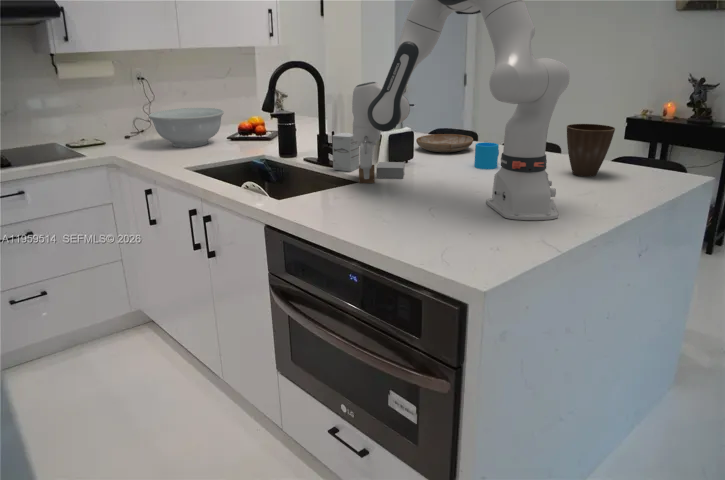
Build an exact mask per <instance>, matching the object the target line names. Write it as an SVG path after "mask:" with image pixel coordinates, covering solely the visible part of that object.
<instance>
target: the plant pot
mask: <svg viewBox="0 0 725 480" xmlns="http://www.w3.org/2000/svg"><path fill="white" fill-rule="evenodd" d="M615 131H616V127H613V126H611V125H606V124H598V123H596V124H595V123H572V124H568V125H566V144H567V151H568V159H569V163H570V167H571V171H572V174H573V175H574V176H578V177H579V176H580V177H587V178H588V177H595V176H596V175H597V174H598V172H599V170H600V168H601V166H602V165H603V162H604V160H605V158H606V156H607V155H608V151H609V149H610V146H611V143H612V141H613V138H614V134H615Z"/></svg>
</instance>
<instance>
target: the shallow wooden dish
mask: <svg viewBox="0 0 725 480" xmlns="http://www.w3.org/2000/svg"><path fill="white" fill-rule="evenodd" d="M415 141H416V144H417V146H419V147H420V148H422V149H424V150H426V151H429V152H434V153H455V152H461V151H464V150H466V149H468V148H469V147H470V146H472V145H473V142H474V138H473V137H472V136H469V135H464V134H454V133H444V134H443V133H440V134H439V133H437V134H428V135H427V134H426V135H422V136H418V137H417V138H416V140H415Z"/></svg>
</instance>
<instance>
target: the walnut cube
mask: <svg viewBox="0 0 725 480" xmlns="http://www.w3.org/2000/svg"><path fill="white" fill-rule="evenodd" d="M375 167H376V165H375V164H372V167H371V169H370V171H369V179H364V172H363V169H361V168H360V164H359V168H358V183H359V184H375V179H376V178H375V176H376V175H375V174H376V173H375V172H376V171H375Z"/></svg>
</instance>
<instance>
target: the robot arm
mask: <svg viewBox="0 0 725 480" xmlns="http://www.w3.org/2000/svg"><path fill="white" fill-rule="evenodd" d="M454 12H455V14H457V15H478V14H480V13H481V16H482V18H483V21H484V24H485V27H486V30H487V32H488V34H489V35H488V36H489V39H490V41H491V43H492V47H493V52H494V68H493V70H492V72H491V74H490V76H489V90H490V92H491V95H492V97H494V98H493V99H495V100H497V101H499V102H502V103H506V104H510V105H516V107H515V111H514V113H513V114H512V116H511V117H510V118H509V120H507V122H506V124H505V126H504V136H503V137H504V138H503V150H502V151H503V152H502V153H501V155H500V166H501V167H500V169H499V170H498V171H497V172H496V173H495V174H494V176H493V186H492V194H491V197H489V198H486V200H485V204H486V205H487V206H489V207H490V208H492V209H493V210H494V211H495V212H497V213H498V214H499V215H500V216H502V217H503V218H506V219H510V220H518V221H519V220H520V221H521V220H522V221H543V220H544V221H545V220H554V219H558V218H559V213H558V210H557V206H556V203H555V200H554V199H553V198H555V197H556V195H557V190H556V189H557V188H554V187H552V186H553V185H552V184H553V181H552V180H549V173H548V172H547V171H546V170H547V163H548V162H547V154H546V147H547V139H548V130H549V127H550V122H551V118H552V116H553V113H554V111H555V107H556V106H557V103H558V100H559V99H560V97H561V95H563V93H564V92H565V91H566V90H567V88H568V85H569V84H570V79H571V77H570V71H569V68H568V67H567V65H566V64H565V63H563V62H562V61H560V60H558V59H554V58H550V57H538V58H535V56H534V55H533V50H532V40H533V38H534V37H535V32H536V29H535V28H536V27H535V25H534V23H533V20H532V18H531V15H530V12H529V10H528V7H527V4H526V2H525V0H413V2H412V3H411V5H410V7H409V11H408V13H407V15H406V18H405V22H404V24H403V27H402V31H401V34H400V38H399V42H398V45H397V48H396V52H395V55H394V58H393V60H392V63H391V65H390V68H389V70H388V73H387V75H386V78H385V80H384V83H383V86H381V85H380V84H379V83H378V82H376V81H369V82H365V83H361V84H357V85H356V86H355V87H354V88H353V91H352V100H351V101H352V103H351V104H352V105H351V106H352V107H351V110H352V115H353V120H352V134H353V140H354V141H357V145H358V146H359V165H360V168H361V169H363V172H364V179H369V171H370V169H371V167H372V165H373V157H374V156H373V155H374V150H375V149H374V148H375V146H377V142H378V141H380V140H381V132H389V131H391V130H394V129H395V128H396V127H397V126H398V125H400V124H401V123H403V122H404V121H405V120H406V119H407V118H408V117H409V114H410V111H411V105H410V101H409V100H408V99H407V98H406V97H405V96H404V93H405V90H406V88H407V86H408V84H409V81H410V78H411V76H412V74H413V72H414V71H415V69H416V68H417V67H418V66H419V64H420V63H421V62H422V61H424V59H426V58H427V57H428V56H429V55H431V53H432V52H433V50H434V48H435V46H436V45H437V43H438V41H439V39H440V36H441V34H442V31H443V30H444V29H443V28H444V25H445V23H446V20H447V19H448V17H449V16H451V14H453V13H454Z"/></svg>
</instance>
